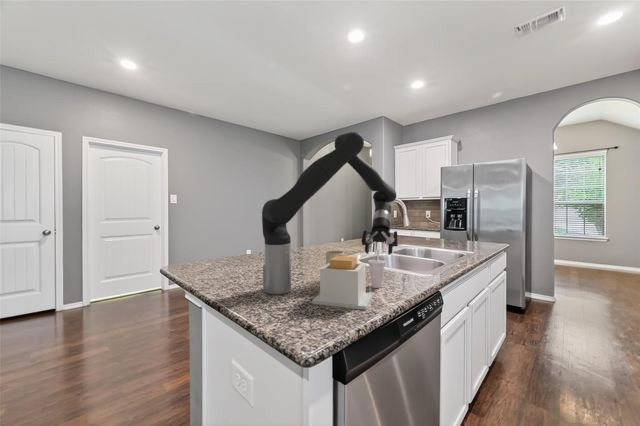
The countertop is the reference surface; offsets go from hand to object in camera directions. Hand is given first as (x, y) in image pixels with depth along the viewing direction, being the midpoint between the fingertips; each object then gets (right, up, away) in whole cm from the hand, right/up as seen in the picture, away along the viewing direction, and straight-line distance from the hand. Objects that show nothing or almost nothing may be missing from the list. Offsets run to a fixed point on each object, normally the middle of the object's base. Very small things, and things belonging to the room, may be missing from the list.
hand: (378, 253), depth 107 cm
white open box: (-15, -12, -19) cm, 27 cm away
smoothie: (-1, -12, -4) cm, 13 cm away
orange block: (-15, -6, -19) cm, 25 cm away
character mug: (-17, -12, -3) cm, 21 cm away
